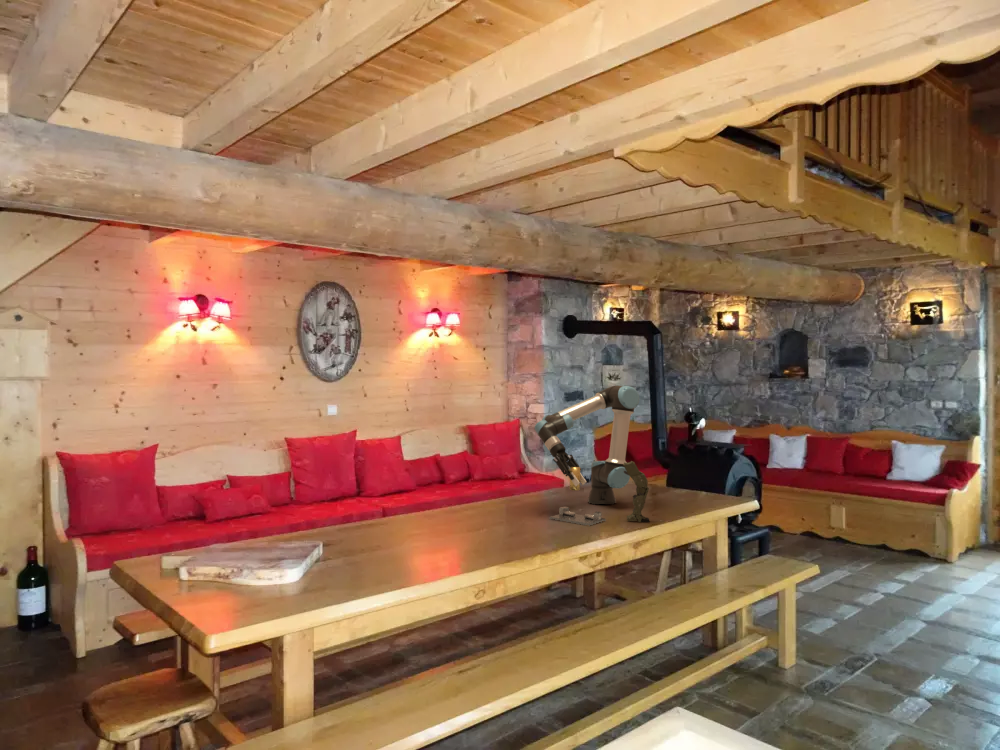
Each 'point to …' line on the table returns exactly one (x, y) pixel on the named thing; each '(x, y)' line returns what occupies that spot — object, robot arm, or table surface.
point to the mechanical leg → (641, 491)
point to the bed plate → (578, 517)
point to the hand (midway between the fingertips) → (581, 483)
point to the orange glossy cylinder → (577, 474)
